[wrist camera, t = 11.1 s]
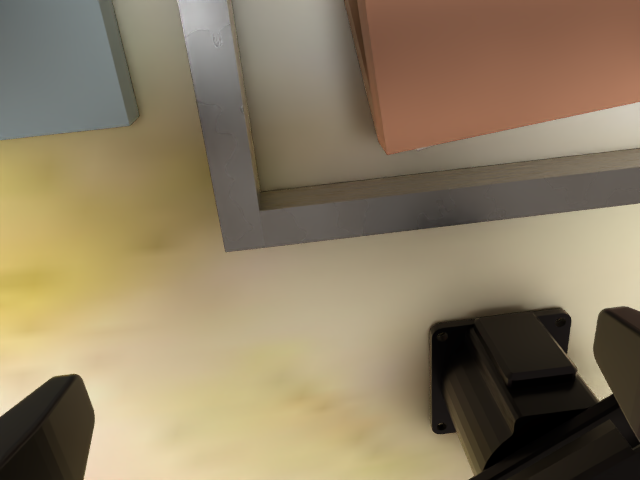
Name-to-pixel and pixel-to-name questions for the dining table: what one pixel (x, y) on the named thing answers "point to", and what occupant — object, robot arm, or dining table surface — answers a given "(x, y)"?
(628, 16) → the offcut stack
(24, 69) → the board
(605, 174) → the rack
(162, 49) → the dining table surface
